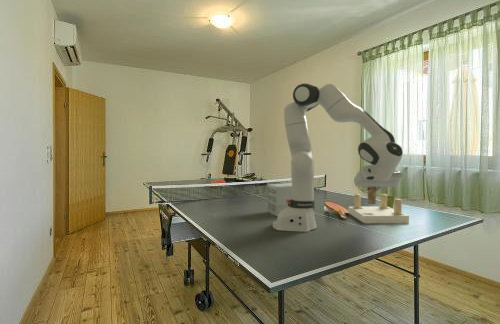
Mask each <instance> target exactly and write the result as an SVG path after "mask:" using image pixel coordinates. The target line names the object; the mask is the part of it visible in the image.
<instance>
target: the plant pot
mask: <svg viewBox="0 0 500 324" xmlns="http://www.w3.org/2000/svg"><path fill="white" fill-rule="evenodd" d="M379 199H380V200H381V195H379ZM394 199H397V197H396V196H393V195H387V207H390V208H392V209H394Z"/></svg>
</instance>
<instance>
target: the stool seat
mask: <svg viewBox="0 0 500 324" xmlns="http://www.w3.org/2000/svg"><path fill="white" fill-rule="evenodd" d="M361 195H362V194H359V193H354V195H353V196H354V199H353V203H354V206H348V211H349V213H348V214H349V215H351V216H352V217H354V218H356V219H357V220H358V221H360V222H361V223H363V224H409V223H410V215H408V214H406V213H403V212H402V202H403V200H402V199H401V198H395V199H394V204H393V209H392V208H390V207H387V196H388V194H387V193H380V196H381V199H380V206H375V205H374V206H370V205H369V206H362V203H361V201H362V200H361V199H362V196H361ZM348 211H347V212H348Z"/></svg>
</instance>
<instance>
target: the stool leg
mask: <svg viewBox="0 0 500 324" xmlns="http://www.w3.org/2000/svg"><path fill="white" fill-rule="evenodd" d="M376 195H377V191H376V187H369V191H367V204H371V205H375V204H376V201H377V199H376V198H377V196H376Z"/></svg>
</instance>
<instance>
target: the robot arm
mask: <svg viewBox="0 0 500 324" xmlns="http://www.w3.org/2000/svg"><path fill="white" fill-rule="evenodd" d="M292 98H293V99H292V100H293V102H290V103H288V104H286V105H285V107H284V108H283V109H284V110H283V119H284V120H283V121H284V127H285V132H286V138H287V143H288V147H289V151H290V156H291V160H290V169H291V170H290V173H291V176H290V177H291V183H292V199H290V200H289V199H287V200H286V202H287V203H288V207H286V208H285V209H284V210H282V211H281V212H280V213H279V214H278V216H277V218H276V221H273V222H272V228H273V229H274V230H277V231H285V232H286V231H287V232H301V233H302V232H304V233H305V232H306V233H308V232H310V231H312V230H315V229H317V222H316V218H315V208H316V207H315V206H316V205H315V199H314V198H315V197H314V196H315V195H314V194H315V193H314V190H315V187H314V186H315V184H314V181H315V180H314V179H315V177H314V176H315V174H314V173H315V160H314V156H313V150H312V143H311V138H310V132H309V129H308V128H309V127H308V121H307V116H306V115H307V112H309V111H311V110H312V109H314V108H316V107H317V106H318V105H319V106H321V107H322V108H323V109H324V110H325V112H326V114H327V115H328V116H329V117H330V118H331V119H332V120H333V121H334V122H337V123H348V122H349V123H355V124H356V123H357V124H359V125H360V126H361V127H362V128H363V129H365V131H366V132H367V133H368V134H369V135H370V137H369V138H366V139H365V140H364V141H362V142H360V143H359V145H358V148H357V152H358V153H357V154H358V155H359V157H360V158H361V159H362V160H364V161H365V162H367V163H369V165H364V166H361V167H360V171H358V172H357V173H356V175H355V176H354V180H353V182H354V185H355V187H357V188H358V187H363V188H364V190H365V191H366V192H368V191H369V187H376V192H380V190H381V189H383V188H396V187H397V186H398V185H399V183H400V181H401V178H402V177H403V173H401V171H395V169H396V168H397V167H398V166H399V163H400V162H401V160H402V157H403V153H404V152H403V148H402V147H401V145H400V144H398V143H397V142H396V139H395V137H394V135H393V134H392V133H391V132H390V130H388V129H386V128H384V127H383V126H382V125H381V124H380V123H378V121H377V120H376V119H374V117H372V116H371V115H370V114H369V113H368V112H367V111H366V110H365V109H364V108H362V107H361V106H357V105H356V104H354V103H353V102H351V101H350V100H349V98H348V97H347V96H346V95H345V94H344V93H343V91H342V90H340V89H339V88H338V87H337V86H336V85H334V84H333V83H327V84H325V85H323V86H321V87H320V88H319V87H318V86H315V85H312V84H309V83H301V84H298V85H297V86H296V87H295V88H294V89H293V92H292Z"/></svg>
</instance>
